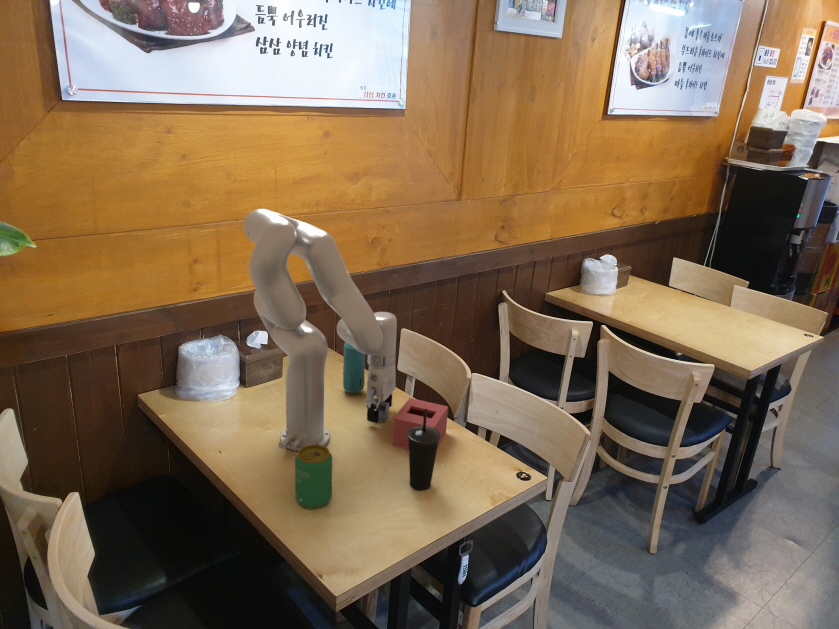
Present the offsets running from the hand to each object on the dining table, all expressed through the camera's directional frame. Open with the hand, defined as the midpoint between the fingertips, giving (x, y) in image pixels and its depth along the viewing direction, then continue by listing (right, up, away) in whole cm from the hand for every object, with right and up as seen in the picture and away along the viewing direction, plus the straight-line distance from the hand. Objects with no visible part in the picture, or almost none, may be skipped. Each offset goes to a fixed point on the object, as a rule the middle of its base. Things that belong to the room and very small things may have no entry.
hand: (379, 413), depth 174 cm
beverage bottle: (-9, +4, +14) cm, 17 cm away
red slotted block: (+11, -5, -8) cm, 15 cm away
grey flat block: (0, -2, 0) cm, 2 cm away
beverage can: (-13, -14, -35) cm, 39 cm away
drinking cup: (+11, -13, -27) cm, 32 cm away
